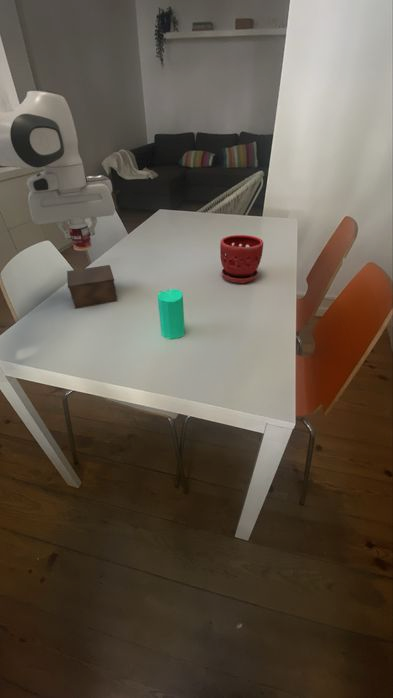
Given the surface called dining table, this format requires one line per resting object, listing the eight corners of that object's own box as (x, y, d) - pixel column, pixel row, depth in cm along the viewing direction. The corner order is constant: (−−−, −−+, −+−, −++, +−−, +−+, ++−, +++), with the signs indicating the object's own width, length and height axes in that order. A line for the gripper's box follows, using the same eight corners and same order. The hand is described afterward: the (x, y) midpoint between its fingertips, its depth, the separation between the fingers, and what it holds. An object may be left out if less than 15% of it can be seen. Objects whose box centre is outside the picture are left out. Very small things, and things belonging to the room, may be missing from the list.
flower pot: (266, 282, 100) (271, 244, 93) (227, 288, 98) (229, 250, 90) (249, 266, 110) (252, 231, 103) (214, 271, 108) (214, 235, 100)
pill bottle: (70, 249, 85) (61, 217, 80) (82, 244, 88) (74, 212, 83) (84, 252, 83) (76, 219, 78) (95, 246, 87) (89, 214, 82)
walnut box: (74, 309, 90) (67, 286, 85) (73, 292, 98) (67, 271, 93) (118, 301, 93) (114, 278, 88) (113, 286, 101) (109, 264, 96)
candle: (186, 326, 82) (184, 283, 74) (182, 339, 77) (180, 295, 70) (163, 324, 82) (159, 282, 75) (158, 338, 78) (153, 294, 70)
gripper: (107, 172, 81) (117, 227, 89) (20, 179, 75) (39, 238, 83) (112, 176, 76) (121, 234, 85) (20, 184, 70) (40, 246, 79)
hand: (80, 236), depth 84 cm, fingers closed on pill bottle, 5 cm apart
